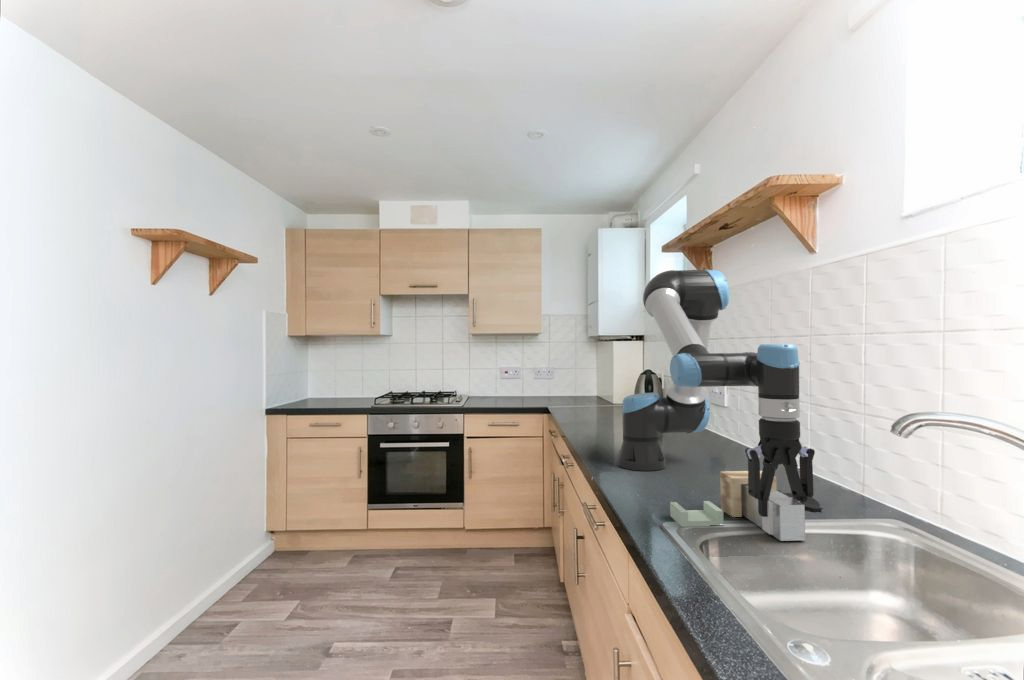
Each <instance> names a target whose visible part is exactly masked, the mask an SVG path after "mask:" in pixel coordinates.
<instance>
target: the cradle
mask: <svg viewBox="0 0 1024 680" xmlns="http://www.w3.org/2000/svg"><path fill="white" fill-rule="evenodd" d="M702 504H703V506H702V507H703V509H690V510H688V509H687V510H686V509H685V508H684V507H683V506H681V505H680V504H679V503H678V502H677V501H670V502H669V512H670V515H669V516H670V517H671V518H672V519H673V520H674V521H675V522H676V523H677V524H678V525H679V526H680V527H681V528H690V527H691V528H692V527H693V528H694V527H695V528H696V527H711V526H710V525H720V524H724V511H723V510H721V507H718V506H717V505H715V504H714V503H713V502H711V501H710V500H703V503H702Z"/></svg>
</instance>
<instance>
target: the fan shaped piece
mask: <svg viewBox="0 0 1024 680" xmlns="http://www.w3.org/2000/svg"><path fill="white" fill-rule="evenodd" d="M777 491H779V492H780V493H782V494H784V495H786V496H788V497H790V498H794V497H793V495H792V492H782V491H781V490H778V489H777ZM804 505H805V511H807V512H811V513H816V512H820V513H822V511H823V509H824V507H821V506H820V505H821V504H820V503H819V502H818V500H816V499H815V498H814V497H808V498H807V501H806V502H804Z"/></svg>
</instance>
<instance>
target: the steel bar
mask: <svg viewBox="0 0 1024 680" xmlns="http://www.w3.org/2000/svg"><path fill="white" fill-rule="evenodd" d="M777 490H778V489H777ZM777 490H775V489H773V488H771V492H770V496H769V501H771V502H773V534H770V535H771V536H773V537H774V538H776V539H777V540H779V541H781V542H784V541H785V542H790V541H791V542H792V541H793V542H795V541H806V512H805V511H806V510H805V505H804V504H802V503H800V502H798V501H796V500H794V499H792V498H790V497H788V496H786V495H784V494H782V493H783V492H782V493H780V492H779V491H780V490H778V491H777ZM741 505H742V517H745V518H746V519H748V520H749V521H750V522H752V523H754V524H755V525H756V526H758V527H760V529H762V516H761V515H759V512H758V499H756V498H754V497H752V496H751V495H749V494H748V484H741Z"/></svg>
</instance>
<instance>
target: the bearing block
mask: <svg viewBox="0 0 1024 680" xmlns="http://www.w3.org/2000/svg"><path fill="white" fill-rule="evenodd" d="M719 474H720V476H719V477H720V478H719V479H720V482H719V483H720V484H719V485H720V509H721V510H723V513H725V514H727V515H728V516H729V515H730V516H729V517H731V516H732V517H742V518H743V515H742V505H741V484H748V470H734V471H733V470H728V471H725V470H724V471H720V472H719ZM761 474H762V470H760V479H761ZM777 485H778V484H777V476H775V475H774V479H773V483H772V487H771V488H773V489H775V490H778V489H777ZM732 517H731V518H732Z"/></svg>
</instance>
